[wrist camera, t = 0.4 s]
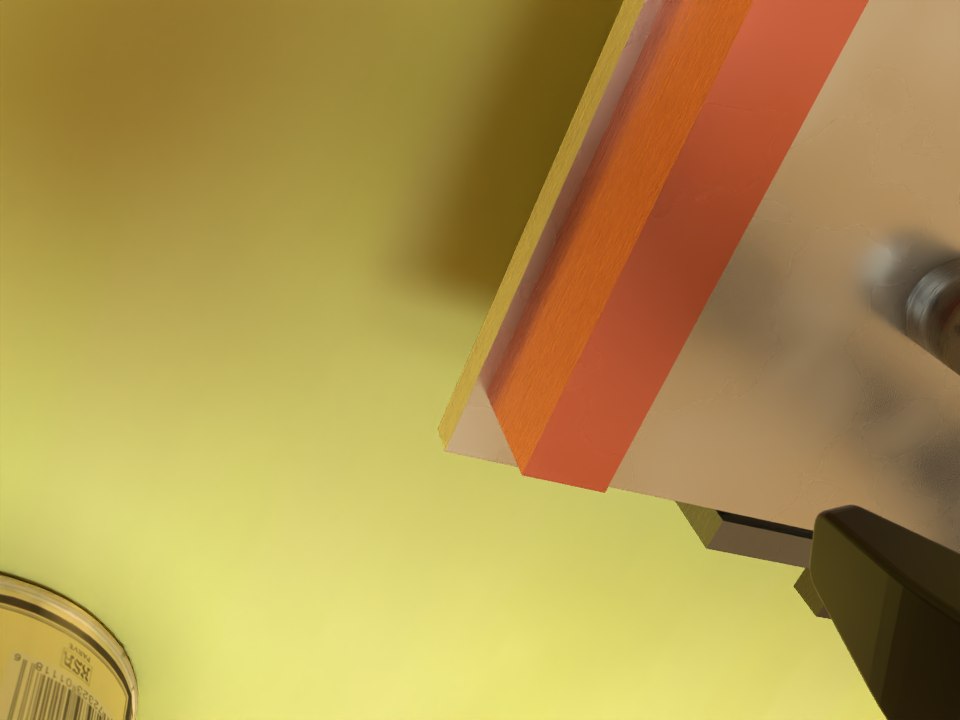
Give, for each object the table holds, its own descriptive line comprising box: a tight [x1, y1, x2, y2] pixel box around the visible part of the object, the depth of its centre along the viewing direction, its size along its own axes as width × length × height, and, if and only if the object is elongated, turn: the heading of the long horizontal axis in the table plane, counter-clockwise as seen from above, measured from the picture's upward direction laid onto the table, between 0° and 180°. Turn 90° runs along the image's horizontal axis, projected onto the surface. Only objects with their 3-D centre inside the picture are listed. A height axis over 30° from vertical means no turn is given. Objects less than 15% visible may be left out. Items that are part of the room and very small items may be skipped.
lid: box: [438, 0, 960, 553], centre depth 17 cm, size 14×12×3 cm
